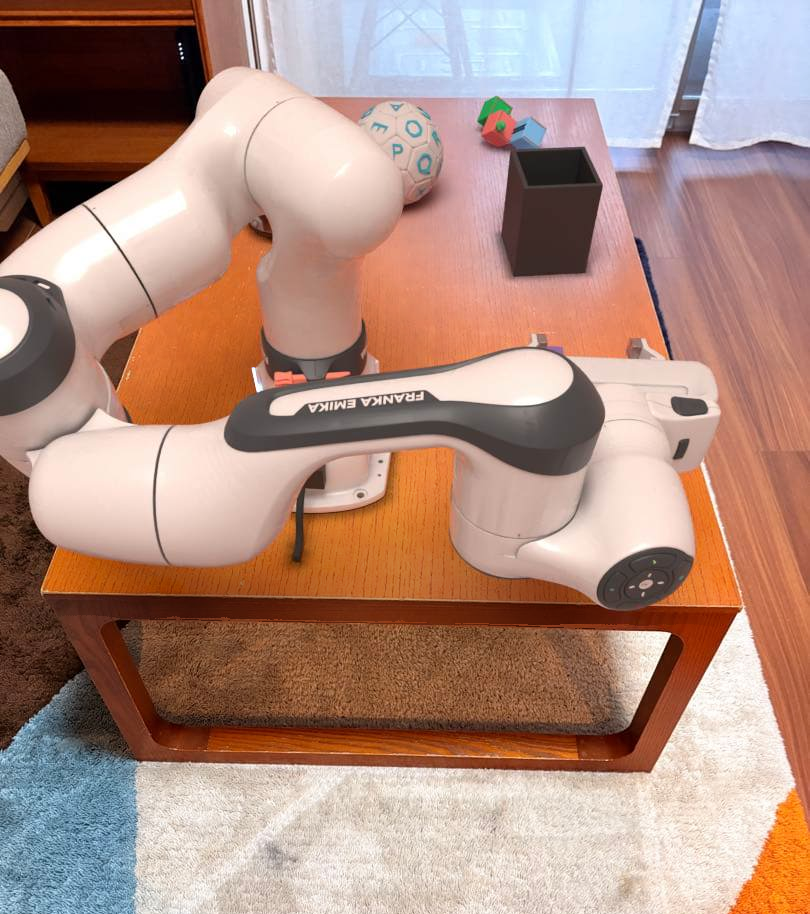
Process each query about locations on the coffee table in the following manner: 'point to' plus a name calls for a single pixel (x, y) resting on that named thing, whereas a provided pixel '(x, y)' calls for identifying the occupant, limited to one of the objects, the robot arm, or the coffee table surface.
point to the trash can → (550, 210)
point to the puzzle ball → (407, 143)
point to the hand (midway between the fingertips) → (586, 341)
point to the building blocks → (508, 126)
